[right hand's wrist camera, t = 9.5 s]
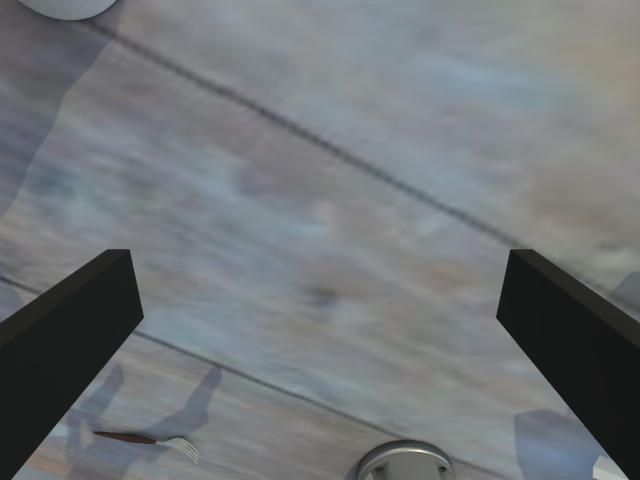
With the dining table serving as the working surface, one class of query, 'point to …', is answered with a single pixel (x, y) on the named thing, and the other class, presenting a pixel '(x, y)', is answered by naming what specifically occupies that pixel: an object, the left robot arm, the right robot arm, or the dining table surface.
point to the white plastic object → (607, 470)
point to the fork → (154, 442)
